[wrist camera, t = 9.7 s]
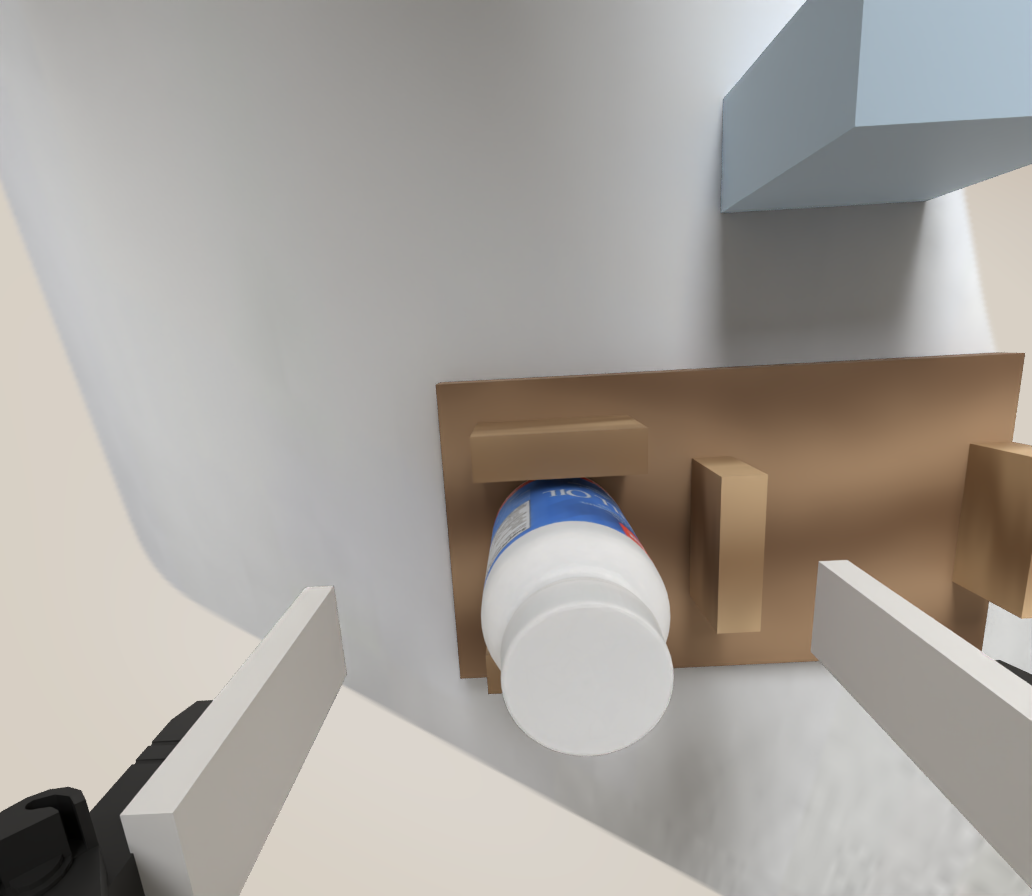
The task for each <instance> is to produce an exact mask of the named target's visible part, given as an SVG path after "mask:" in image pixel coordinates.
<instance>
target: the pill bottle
mask: <svg viewBox="0 0 1032 896" xmlns="http://www.w3.org/2000/svg"><path fill="white" fill-rule="evenodd" d="M481 625H482V631H483V636H484V640H485V643H486V646H487V648H488V650H489V653H490V655H491V657H492V658H493V660H494V662H495V663H496V665H497V666H498V668H499V669H500V670H501V688H502V694H503V698H504V701H505V704H506V707H507V709H508V711H509V713H510V715H511V717H512V718H513V720H514V721H515V723H516V724H517V725H518V726H519V728H520V729H521V730H522V731H523V732H524V733H525V734H526V735H527V736H529V737H530V738H531V739H533V740H534V741H536V742H537V743H539V744H541V745H542V746H544V747H546V748H548V749H551V750H553V751H556V752H560V753H563V754H568V755H573V756H597V755H605V754H609V753H612V752H615V751H618V750H621V749H624V748H626V747H628V746H630V745H632V744H633V743H635V742H637V741H638V740H640V739H641V738H642V737H644V736H645V735H646V734H647V733H648V732H650V731H651V730H652V728H653V727H654V726H655V725H656V724H657V723H658V722H659V721H660V719H661V717H662V716H663V714H664V713H665V711H666V709H667V707H668V704H669V701H670V698H671V694H672V691H673V680H674V671H673V665H672V659H671V655H670V652H669V650H668V647H667V645H666V641H667V638H668V634H669V628H670V604H669V599H668V594H667V591H666V588H665V585H664V583H663V581H662V579H661V577H660V575H659V573H658V571H657V569H656V567H655V565H654V563H653V562H652V560H651V559H650V557H649V555H648V554H647V552H646V551H645V549H644V547H643V546H642V544H641V543H640V541H639V539H638V538H637V536H636V535H635V533H634V531H633V529H632V528H631V526H630V525H629V523H628V521H627V520H626V518H625V517H624V515H623V513H622V512H621V510H620V508H619V506H618V505H617V504H616V502H615V501H614V499H613V498H612V497H611V496H610V495H609V494H608V493H607V492H606V491H605V490H604V489H603V488H602V487H601V486H600V485H598V484H597V483H595V482H594V481H592V480H590V479H588V478H586V477H582V478H563V479H543V480H528V481H526V482H524V483H523V484H521V485H520V486H518V487H517V488H516V489H515V490H514V491H513V492H512V493H511V494H510V495H509V496H508V497H507V498H506V500H505V501H504V502H503V504H502V506H501V507H500V509H499V511H498V514H497V516H496V519H495V522H494V526H493V532H492V537H491V545H490V551H489V558H488V564H487V571H486V577H485V583H484V589H483V597H482V606H481Z"/></svg>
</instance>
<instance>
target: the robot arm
mask: <svg viewBox="0 0 1032 896" xmlns="http://www.w3.org/2000/svg"><path fill="white" fill-rule="evenodd" d="M811 653H812V654H813V655H814V656H815V657H816V658H817V659H818V660H819V661H820V662H821V663H822V664H823V665H824V667H825V668H826V669H827V670H828V671H829V672H830V673H831V674H832V675H833V676H834V677H835V678H836V679H837V681H838V682H839V683H840V684H841V685H842V686H843V687H844V688H845V689H846V690H847V691H848V692H849V693H850V694H851V696H852V697H853V698H854V699H855V700H856V701H857V702H858V703H859V704H860V705H861V706H862V707H863V708H864V710H865V711H866V712H867V713H868V714H869V715H870V716H871V717H872V718H873V719H874V720H875V721H876V722H877V723H878V725H879V726H880V727H881V728H882V729H883V730H884V731H885V732H886V733H887V734H888V735H889V736H890V737H891V738H892V740H893V741H894V742H895V743H896V744H897V745H898V746H899V747H900V748H901V749H902V750H903V751H904V752H905V754H906V755H907V756H908V757H909V758H910V759H911V760H912V761H913V762H914V763H915V764H916V765H917V766H918V767H919V769H920V770H921V771H922V772H923V773H924V774H925V775H926V776H927V777H928V778H929V779H930V780H931V781H932V783H933V784H934V785H935V786H936V787H937V788H938V789H939V790H940V791H941V792H942V793H943V794H944V795H945V796H946V798H947V799H948V800H949V801H950V802H951V803H952V804H953V805H954V806H955V807H956V808H957V809H958V810H959V812H960V813H961V814H962V815H963V816H964V817H965V818H966V819H967V820H968V821H969V822H970V823H971V824H972V825H973V827H974V828H975V829H976V830H977V831H978V832H979V833H980V834H981V835H982V836H983V837H984V838H985V839H986V841H987V842H988V843H989V844H990V845H991V846H992V847H993V848H994V849H995V850H996V851H997V852H998V853H999V854H1000V856H1001V857H1002V858H1003V859H1004V860H1005V861H1006V862H1007V863H1008V864H1009V865H1010V866H1011V867H1012V868H1013V869H1014V871H1015V872H1016V873H1017V874H1018V875H1019V876H1020V877H1021V878H1022V879H1023V880H1024V881H1025V882H1026V883H1027V885H1028V886H1029V887H1030V888H1031V889H1032V674H1029V673H1027V672H1025V671H1023V670H1021V669H1018V668H1016V667H1014V666H1012V665H1010V664H1008V663H1005V662H1003V661H1001V660H993V659H992V658H990V657H989V656H987V655H986V654H985V653H983V652H982V651H980V650H979V649H977V648H976V647H974V646H973V645H971V644H970V643H968V642H967V641H965V640H964V639H963V638H961V637H960V636H958V635H957V634H955V633H954V632H952V631H951V630H949V629H948V628H946V627H945V626H943V625H942V624H941V623H939V622H938V621H936V620H935V619H933V618H932V617H930V616H929V615H927V614H926V613H924V612H923V611H921V610H920V609H918V608H917V607H916V606H914V605H913V604H911V603H910V602H908V601H907V600H905V599H904V598H902V597H901V596H899V595H898V594H896V593H895V592H894V591H892V590H891V589H889V588H888V587H886V586H885V585H883V584H882V583H880V582H879V581H877V580H876V579H874V578H873V577H872V576H870V575H869V574H867V573H866V572H864V571H863V570H861V569H860V568H858V567H857V566H855V565H854V564H852V563H851V562H850V561H848V560H835V561H819V563H818V574H817V585H816V597H815V608H814V619H813V630H812V642H811ZM346 675H347V672H346V666H345V659H344V652H343V645H342V638H341V631H340V624H339V618H338V611H337V604H336V597H335V590H334V586H319V587H305V589H304V590H303V591H302V592H301V594H300V595H299V596H298V597H297V599H296V600H295V601H294V602H293V603H292V605H291V606H290V607H289V608H288V610H287V611H286V612H285V613H284V614H283V616H282V617H281V618H280V619H279V621H278V622H277V623H276V624H275V625H274V627H273V628H272V629H271V630H270V632H269V633H268V634H267V635H266V637H265V638H264V639H263V640H262V641H261V643H260V644H259V645H258V646H257V648H256V649H255V650H254V651H253V652H252V654H251V655H250V656H249V657H248V659H247V660H246V661H245V662H244V664H243V665H242V666H241V667H240V668H239V670H238V671H237V672H236V673H235V675H234V676H233V677H232V678H231V679H230V681H229V682H228V683H227V684H226V686H225V687H224V688H223V689H222V691H221V692H220V693H219V694H218V696H217V697H216V698H215V699H214V700H208V701H197V702H195V703H194V704H193V705H191V706H190V707H188V708H187V709H186V710H184V711H183V712H182V713H180V714H179V715H177V716H176V717H175V718H173V719H172V720H171V721H170V722H169V723H168V724H167V725H166V726H165V728H164V729H163V730H162V731H161V732H160V733H159V735H158V736H157V737H156V738H155V739H154V740H153V741H152V745H151V746H148V747H147V748H146V749H145V750H144V752H142V754H141V755H140V756H139V757H138V758H137V759H136V763H135V764H134V765H131V766H130V767H129V768H128V769H127V771H126V772H125V773H124V774H123V775H122V776H121V777H120V779H119V780H118V781H117V782H116V783H115V784H114V785H113V786H112V788H111V789H110V790H109V791H108V792H107V793H106V794H105V796H104V797H103V798H102V799H101V800H100V801H99V802H98V803H97V805H96V806H95V807H94V808H93V809H92V810H91V811H90V813H89V810H88V806H87V803H86V800H85V797H84V796H83V793H82V791H81V790H78V789H74V788H71V787H65V788H57V789H50V790H47V791H44V792H41V793H39V794H36V795H33V796H30V797H27V798H25V799H24V800H22V801H20V802H18V803H16V804H14V805H13V806H11V807H9V808H7V809H5V810H3V811H2V812H1V813H0V896H239V895H240V893H241V890H242V889H243V887H244V884H245V882H246V880H247V878H248V876H249V874H250V872H251V870H252V868H253V866H254V864H255V862H256V860H257V858H258V855H259V854H260V852H261V850H262V847H263V845H264V843H265V841H266V839H267V837H268V835H269V833H270V831H271V829H272V827H273V825H274V823H275V821H276V819H277V817H278V815H279V812H280V811H281V808H282V806H283V804H284V802H285V800H286V798H287V796H288V794H289V792H290V790H291V788H292V786H293V784H294V782H295V780H296V778H297V776H298V773H299V772H300V769H301V767H302V765H303V763H304V761H305V759H306V757H307V755H308V753H309V751H310V749H311V747H312V745H313V743H314V741H315V739H316V737H317V735H318V732H319V730H320V728H321V726H322V724H323V722H324V720H325V718H326V716H327V714H328V712H329V710H330V708H331V706H332V704H333V702H334V700H335V698H336V696H337V693H338V691H339V689H340V687H341V685H342V683H343V681H344V679H345V677H346Z"/></svg>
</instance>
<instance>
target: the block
mask: <svg viewBox="0 0 1032 896" xmlns="http://www.w3.org/2000/svg"><path fill="white" fill-rule="evenodd" d="M1030 164H1032V0H807V1H806V2H805V3H804V4H803V5H802V7H801V8H800V9H799V10H798V11H797V13H796V14H795V15H794V16H793V17H792V18H791V20H790V21H789V22H788V23H787V24H786V26H785V27H784V28H783V29H782V30H781V31H780V33H779V34H778V35H777V36H776V37H775V39H774V40H773V41H772V42H771V43H770V44H769V46H768V47H767V48H766V49H765V50H764V52H763V53H762V54H761V55H760V56H759V57H758V59H757V60H756V61H755V62H754V63H753V65H752V66H751V67H750V68H749V69H748V70H747V72H746V73H745V74H744V75H743V76H742V78H741V79H740V80H739V81H738V82H737V83H736V85H735V86H734V87H733V88H732V89H731V91H730V92H729V93H728V94H727V95H726V97H725V98H724V99H723V139H722V181H721V213H729V212H746V211H763V210H780V209H797V208H814V207H832V206H849V205H866V204H883V203H900V202H917V201H927V200H930V199H933V198H936V197H939V196H942V195H944V194H947V193H950V192H953V191H956V190H959V189H962V188H964V187H967V186H970V185H973V184H976V183H978V182H981V181H984V180H987V179H990V178H993V177H996V176H998V175H1001V174H1004V173H1007V172H1010V171H1013V170H1016V169H1018V168H1021V167H1024V166H1027V165H1030Z"/></svg>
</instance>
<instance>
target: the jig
mask: <svg viewBox="0 0 1032 896" xmlns="http://www.w3.org/2000/svg"><path fill="white" fill-rule="evenodd" d="M1024 357H1025V353H980V354H961V355H943V356H924V357H905V358H887V359H868V360H850V361H831V362H812V363H794V364H775V365H757V366H738V367H719V368H701V369H682V370H663V371H645V372H626V373H608V374H589V375H570V376H552V377H533V378H515V379H496V380H477V381H459V382H440V383H438V384H436V394H437V406H438V417H439V429H440V441H441V453H442V465H443V477H444V488H445V500H446V512H447V524H448V536H449V548H450V559H451V571H452V583H453V595H454V607H455V619H456V630H457V642H458V654H459V666H460V678H461V679H462V678H483V677H487V682H488V694H498V693H502V688H501V670H500V669H499V668H498V666H497V665H496V663H495V662H494V660H493V658H492V657H491V655H490V653H489V650H488V648H487V646H486V643H485V640H484V636H483V631H482V625H481V606H482V597H483V589H484V583H485V577H486V571H487V564H488V558H489V551H490V545H491V537H492V532H493V526H494V522H495V519H496V516H497V514H498V511H499V509H500V507H501V506H502V504H503V502H504V501H505V500H506V498H507V497H508V496H509V495H510V494H511V493H512V492H513V491H514V490H515V489H516V488H517V487H518V486H520V485H521V484H523V483H524V482H526V481H528V480H543V479H563V478H582V477H586V478H588V479H590V480H592V481H594V482H595V483H597V484H598V485H600V486H601V487H602V488H603V489H604V490H605V491H606V492H607V493H608V494H609V495H610V496H611V497H612V498H613V499H614V501H615V502H616V504H617V505H618V506H619V508H620V510H621V512H622V513H623V515H624V517H625V518H626V520H627V521H628V523H629V525H630V526H631V528H632V529H633V531H634V533H635V535H636V536H637V538H638V539H639V541H640V543H641V544H642V546H643V547H644V549H645V551H646V552H647V554H648V555H649V557H650V559H651V560H652V562H653V563H654V565H655V567H656V569H657V571H658V573H659V575H660V577H661V579H662V581H663V583H664V585H665V588H666V591H667V594H668V599H669V604H670V628H669V634H668V638H667V641H666V645H667V647H668V650H669V652H670V655H671V659H672V665H673V668H685V667H705V666H725V665H746V664H766V663H786V662H806V661H819V660H818V659H817V658H816V657H815V656H814V655H813V654H812V653H811V642H812V630H813V619H814V608H815V597H816V585H817V574H818V563H819V561H835V560H848V561H850V562H851V563H852V564H854V565H855V566H857V567H858V568H860V569H861V570H863V571H864V572H866V573H867V574H869V575H870V576H872V577H873V578H874V579H876V580H877V581H879V582H880V583H882V584H883V585H885V586H886V587H888V588H889V589H891V590H892V591H894V592H895V593H896V594H898V595H899V596H901V597H902V598H904V599H905V600H907V601H908V602H910V603H911V604H913V605H914V606H916V607H917V608H918V609H920V610H921V611H923V612H924V613H926V614H927V615H929V616H930V617H932V618H933V619H935V620H936V621H938V622H939V623H941V624H942V625H943V626H945V627H946V628H948V629H949V630H951V631H952V632H954V633H955V634H957V635H958V636H960V637H961V638H963V639H964V640H965V641H967V642H968V643H970V644H971V645H973V646H974V647H976V648H977V649H979V650H980V651H982V646H983V639H984V632H985V625H986V618H987V611H988V604H989V601H990V602H992V603H993V604H995V605H997V606H999V607H1001V608H1003V609H1005V610H1006V611H1008V612H1010V613H1012V614H1014V615H1016V616H1018V617H1019V618H1021V619H1022V618H1032V446H1030V445H1025V444H1020V443H1015V442H1012V440H1013V433H1014V426H1015V419H1016V412H1017V405H1018V398H1019V392H1020V385H1021V378H1022V371H1023V364H1024Z"/></svg>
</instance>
